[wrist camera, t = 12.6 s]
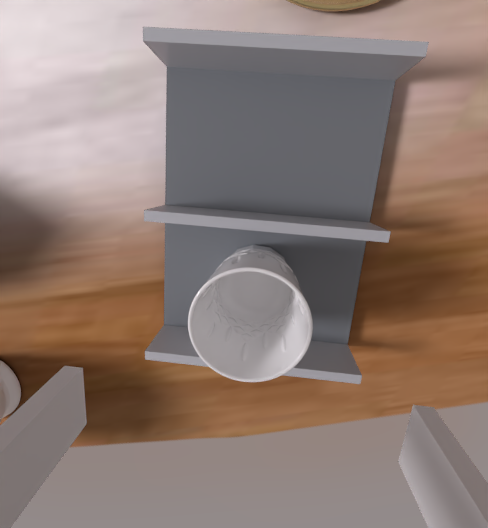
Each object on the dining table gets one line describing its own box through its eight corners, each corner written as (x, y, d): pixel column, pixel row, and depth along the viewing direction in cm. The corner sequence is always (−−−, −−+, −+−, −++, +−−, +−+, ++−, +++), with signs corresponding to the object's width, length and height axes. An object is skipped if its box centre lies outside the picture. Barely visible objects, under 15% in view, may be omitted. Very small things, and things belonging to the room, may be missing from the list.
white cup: (208, 310, 31) (181, 370, 21) (220, 231, 29) (195, 257, 19) (289, 325, 31) (298, 392, 21) (306, 245, 29) (325, 280, 19)
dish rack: (171, 60, 27) (142, 26, 21) (391, 73, 26) (428, 42, 20) (167, 326, 33) (145, 359, 27) (343, 345, 32) (360, 384, 26)
